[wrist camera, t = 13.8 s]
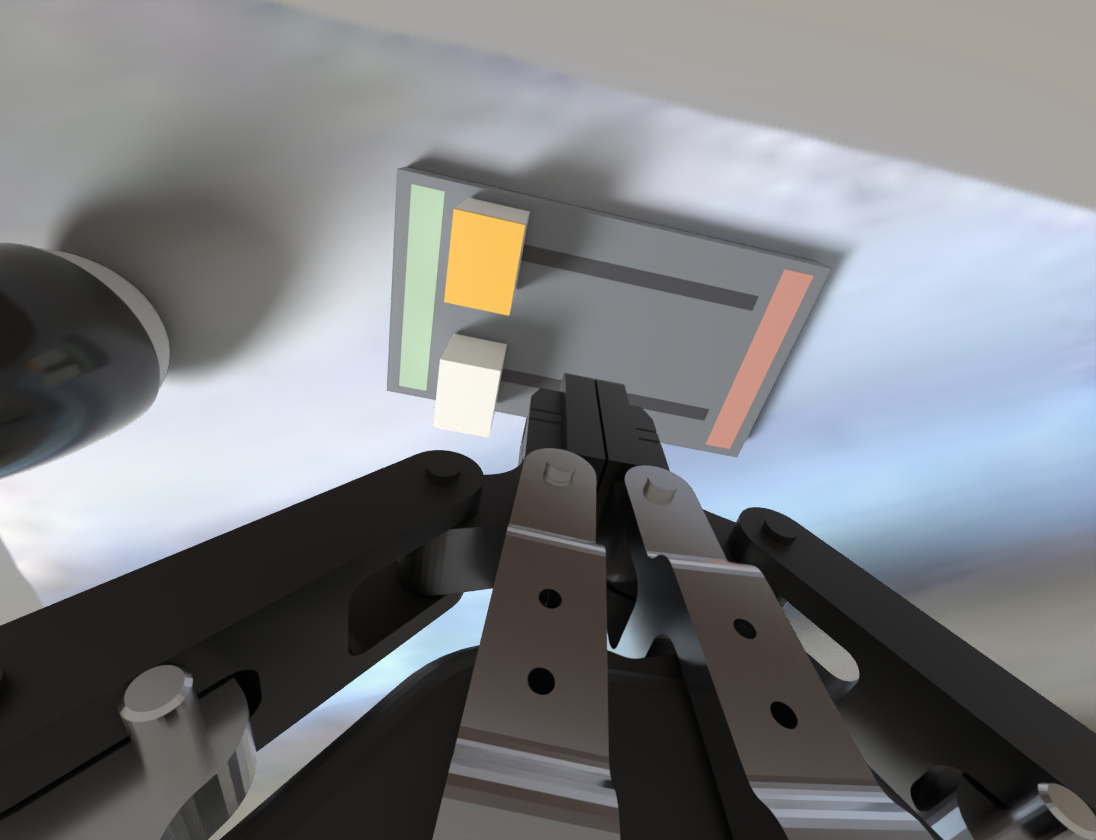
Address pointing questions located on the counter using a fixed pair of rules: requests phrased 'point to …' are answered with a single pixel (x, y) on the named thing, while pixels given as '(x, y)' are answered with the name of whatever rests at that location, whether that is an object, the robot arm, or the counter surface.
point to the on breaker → (468, 385)
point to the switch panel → (604, 311)
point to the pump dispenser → (71, 355)
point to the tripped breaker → (485, 255)
